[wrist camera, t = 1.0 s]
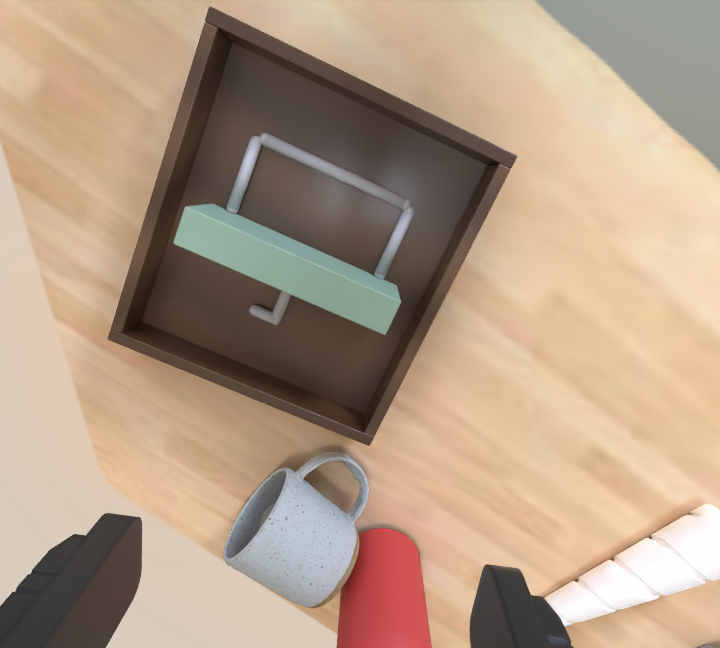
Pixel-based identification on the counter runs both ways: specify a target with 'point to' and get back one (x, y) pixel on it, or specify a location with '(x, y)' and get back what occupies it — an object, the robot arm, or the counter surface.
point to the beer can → (384, 595)
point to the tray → (302, 228)
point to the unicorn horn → (646, 569)
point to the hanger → (296, 249)
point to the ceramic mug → (298, 535)
